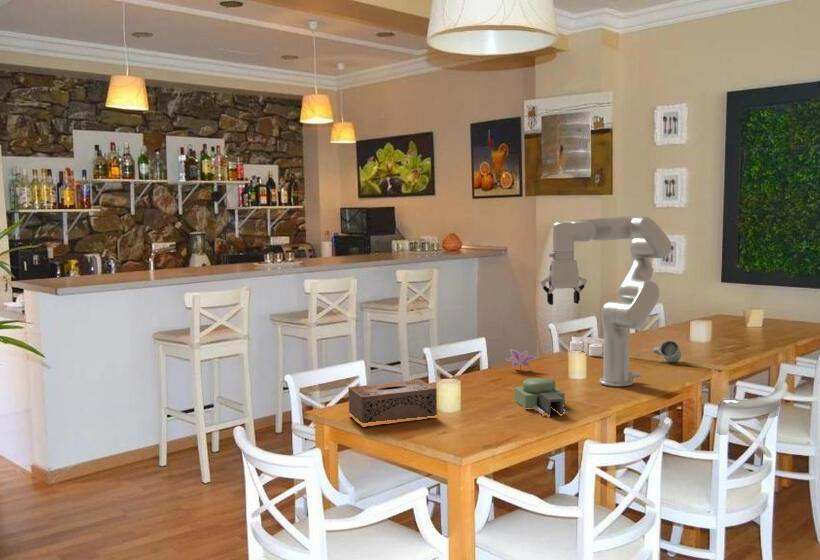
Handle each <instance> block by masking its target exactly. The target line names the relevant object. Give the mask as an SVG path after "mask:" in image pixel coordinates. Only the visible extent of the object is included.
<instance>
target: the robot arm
mask: <svg viewBox="0 0 820 560" xmlns="http://www.w3.org/2000/svg"><path fill="white" fill-rule="evenodd" d="M629 239H631V240H630V243H629V251H630V256H631V266H630V268H629V271H628V272H627V274H626V276H625V277H624V279H623V280H622V282H621V284H620V286H619V287H618V289H617V298H619V300H609V301H607V302H605V303H604V304H603V305H602V307H601V310H600V317H601V322H602V329H603V339H604V345H603V352H604V353H603V356H604V357H602V358H603V366H602V367H603V369H602V371H603V372H602V373H603V375H602V377H600V378H598V379H599V380H598V382H599V384H602V385H603V386H607V387H609V386H610V387H628V386H632V385H633V384H634V380H633V379H634V378H636V379H637V378H638V379H639V378H642V372H635V371H631V370H630V333H629V331H628V329H632V330H633V329H634V330H635V329H636V330H637V329H640V328H642V326H643V325H644V324H645V323H646V322H647V320H648V318H649V316H650V315H651V313H652V311H653V309H655V306H657V303H658V301H659V297H660V288H659V286H658V284H657V283H656V282H654V281H653V280H651V279H652V277H653V274H654V271H653V266H652V263H651V259H665V258H667V257H668V256H669V255H670V254H671V252H672V243H671V241H670V239H669V237H668V235H667V234H666V233H665V232H664V231H663V229H662V228H661V227H660V226H659V224H658V223H657V222H655V221H654V220H653V219H652V218H651V217H649V216H642V215H641V216H636V215H635V216H627V215H626V216H611V217H599V218H590V219H589V218H588V219H587V218H586V219H574V220H571V219H570V220H564V221H556V222H554V223H553V224H552V252H551V253H549V254H548V257H549V258H550V259H551V258H552V260H550V264H549V271H548V277H546V278H544V279H542V280H540V281H539V284H540V286H541V288H542V289H543V290H544V292H545V293H546V294H547V295H546V297H547V298H546V301H547V304H548V305H550V306H552V305H554V293H553V292H554V290H555V289H573V290H574V291H573V303H574V304H577V305H578V304H579V302H580V300H581V298H580V297H581V294H580V293H581V292H582V290H583V289H584V288H585V286H586V284H587V282H588V280H587V279H585V278H584V277H581V276H580V273H579V266H578V261H577V259H575V242H579V243H580V242H584V243H585V242H590V241H593V240H594V241H616V240H618V241H619V240H629ZM580 282H581V283H580ZM546 283H548V287H547V285H546Z"/></svg>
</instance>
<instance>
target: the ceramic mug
mask: <svg viewBox="0 0 820 560" xmlns="http://www.w3.org/2000/svg"><path fill="white" fill-rule="evenodd" d="M653 353H654V354H655V355H658V356H662V357H663V358H664V359H665V360H666V361H667V362H668V363H673V364H675V363H677V362H679V361H680V360H681V358H682V351H681V349H680V346H679V344H678V343H677V342H676V341H674V340H666V341H664V342H662V343H661V345H660V346H654V348H653Z"/></svg>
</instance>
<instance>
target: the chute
mask: <svg viewBox="0 0 820 560" xmlns="http://www.w3.org/2000/svg"><path fill="white" fill-rule="evenodd" d="M551 407H552V408H553V409H555V410H556V411H558V412H559V413H560V414H563V409H564V408H563V398H561V397H560V396H558V395H557V394H556V393H554V392H546V393H539V408H540V409H542V410H543V411H544V412H545V413H547V414H548V415H549V414H551V413H552V412H551V411H552V410H551Z"/></svg>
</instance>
